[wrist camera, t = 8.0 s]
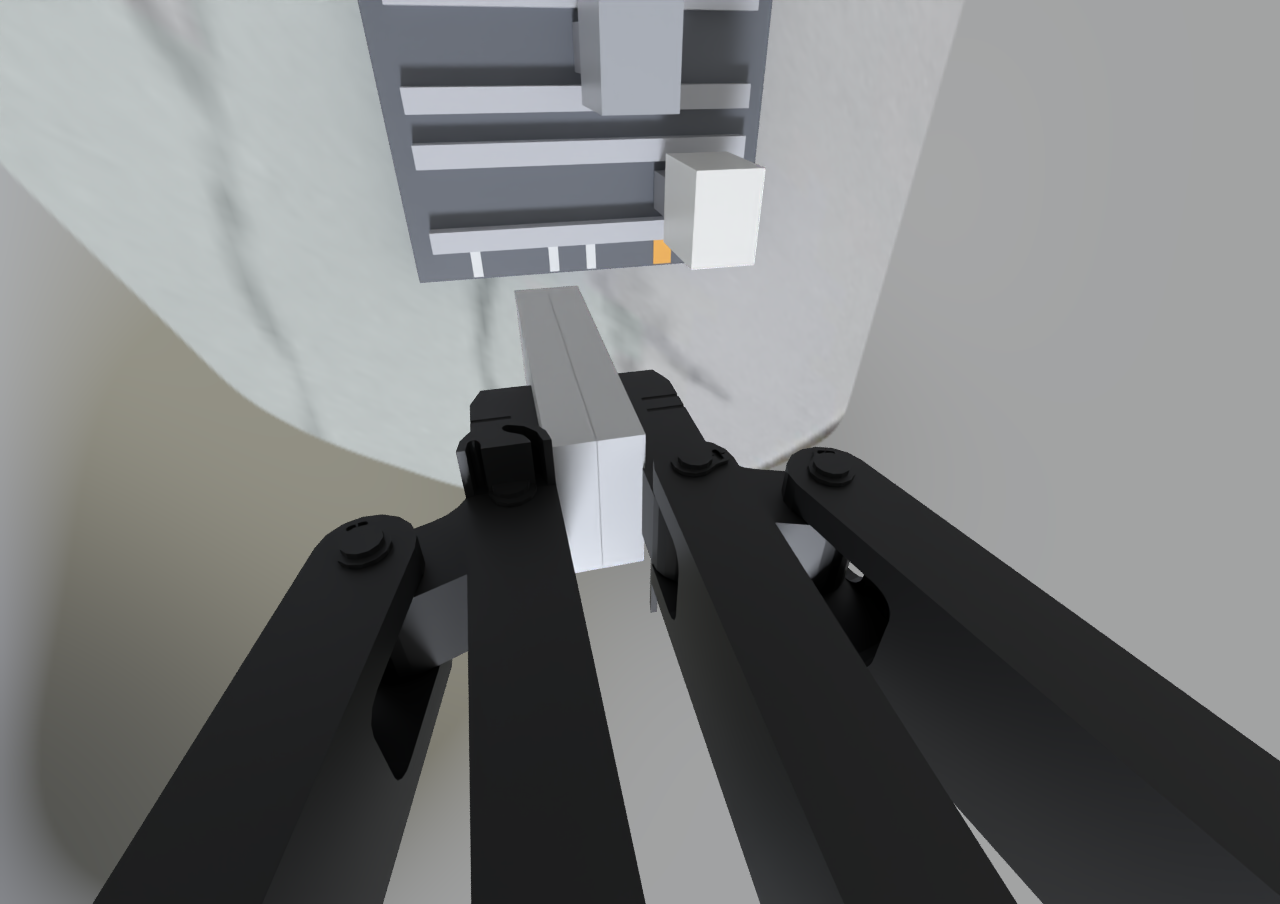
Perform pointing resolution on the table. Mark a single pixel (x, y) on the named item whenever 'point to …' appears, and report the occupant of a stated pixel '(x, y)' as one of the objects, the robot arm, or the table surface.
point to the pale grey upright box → (629, 55)
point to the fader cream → (710, 208)
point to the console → (545, 132)
